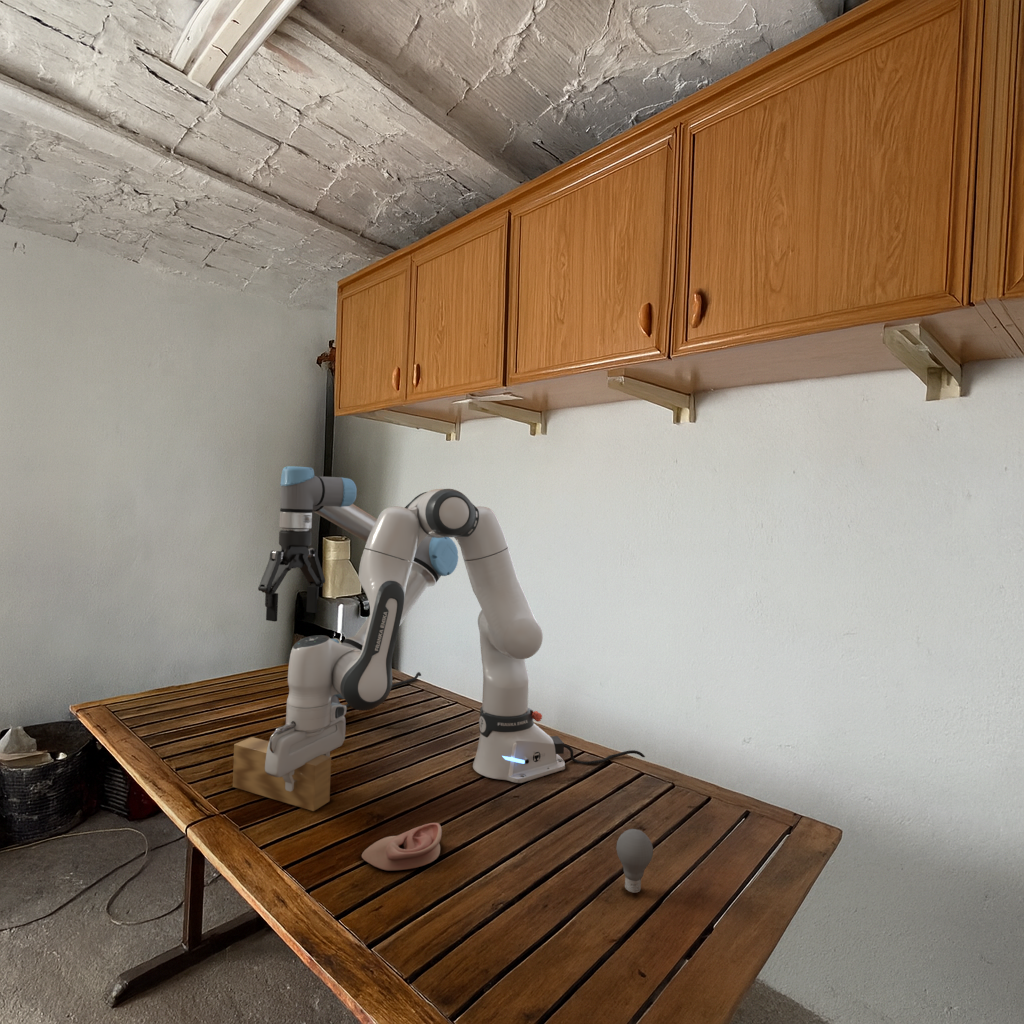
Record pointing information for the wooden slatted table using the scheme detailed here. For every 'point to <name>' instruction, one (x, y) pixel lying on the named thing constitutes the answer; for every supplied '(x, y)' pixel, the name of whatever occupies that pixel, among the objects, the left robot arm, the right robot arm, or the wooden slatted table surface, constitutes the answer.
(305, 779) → the bar
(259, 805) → the wooden slatted table surface
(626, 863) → the light bulb
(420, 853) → the anatomical model
